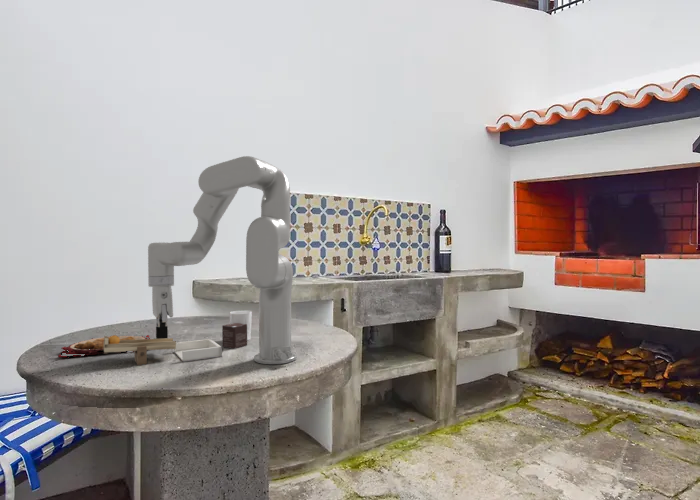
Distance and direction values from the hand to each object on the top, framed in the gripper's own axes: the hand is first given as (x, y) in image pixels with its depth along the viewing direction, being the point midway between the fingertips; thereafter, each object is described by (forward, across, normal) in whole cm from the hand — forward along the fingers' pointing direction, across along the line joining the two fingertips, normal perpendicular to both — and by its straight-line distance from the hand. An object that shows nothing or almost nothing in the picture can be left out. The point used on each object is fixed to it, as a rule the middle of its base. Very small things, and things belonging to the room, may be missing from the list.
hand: (161, 338), depth 146 cm
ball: (-2, -7, +14) cm, 16 cm away
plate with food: (+6, +20, +14) cm, 25 cm away
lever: (+1, -4, +7) cm, 8 cm away
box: (+5, -2, -23) cm, 24 cm away
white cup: (+5, +7, -28) cm, 29 cm away
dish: (+5, -7, -9) cm, 13 cm away
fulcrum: (+5, -7, +7) cm, 11 cm away
